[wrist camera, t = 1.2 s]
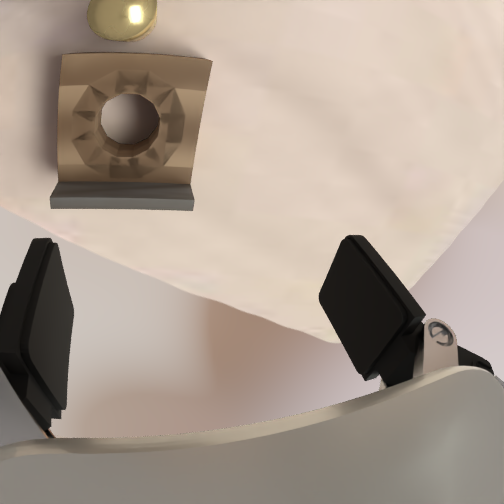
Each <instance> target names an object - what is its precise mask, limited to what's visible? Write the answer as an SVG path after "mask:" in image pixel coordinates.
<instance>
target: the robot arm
mask: <svg viewBox="0 0 504 504" xmlns="http://www.w3.org/2000/svg"><path fill="white" fill-rule="evenodd" d="M319 302H320V304H321V306H322V308H323V309H324V311H325V313H326V315H327V317H328V318H329V320H330V322H331V324H332V326H333V328H334V329H335V331H336V333H337V335H338V337H339V339H340V340H341V342H342V344H343V346H344V348H345V350H346V351H347V353H348V355H349V357H350V359H351V361H352V363H353V365H354V366H355V369H356V370H357V372H358V373H359V374H361V375H362V377H363V378H364V380H365V381H367V380H371V379H374V378H376V377H377V376H378V375H379V374H380V376H381V383H380V388H379V391H377V392H374V393H371V394H368V395H365V396H362V397H359V398H355V399H352V400H349V401H346V402H342V403H339V404H335V405H332V406H328V407H324V408H321V409H317V410H313V411H309V412H305V413H301V414H297V415H293V416H289V417H284V418H279V419H274V420H270V421H264V422H259V423H254V424H248V425H242V426H236V427H230V428H224V429H217V430H210V431H202V432H193V433H184V434H174V435H162V436H161V435H160V436H145V437H144V436H143V437H125V438H56V437H55V436H54V434H53V433H52V432H51V430H50V429H49V428H50V427H51V418H54V419H61V410H65V409H66V405H67V381H68V365H69V354H70V344H71V334H72V326H73V318H74V308H73V304H72V301H71V296H70V293H69V289H68V286H67V281H66V277H65V273H64V269H63V265H62V261H61V256H60V251H59V247H58V244H57V243H53V242H52V239H51V238H35V239H33V240H32V242H31V244H30V247H29V249H28V252H27V255H26V257H25V259H24V262H23V264H22V267H21V270H20V272H19V275H18V278H17V281H16V283H12V284H11V285H10V287H9V290H8V293H7V296H6V298H5V301H4V304H3V307H2V311H1V314H0V504H504V382H503V381H502V380H500V379H499V378H498V377H497V376H495V377H494V372H493V370H492V367H491V365H490V363H489V362H488V361H487V360H485V359H483V358H482V357H480V356H478V355H476V354H474V353H472V352H470V351H468V350H466V349H464V348H462V347H460V346H458V345H457V339H456V335H455V333H454V332H453V330H452V329H451V328H450V327H449V326H448V325H447V324H446V323H445V322H443V321H441V320H439V319H436V318H431V319H428V320H427V321H426V322H425V324H423V323H422V322H421V321H422V320H423V318H424V317H425V316H426V314H425V313H424V311H423V310H422V308H421V307H420V306H419V304H418V303H417V302H416V301H415V299H414V298H413V297H412V295H411V294H410V293H409V291H408V290H407V289H406V287H405V286H404V285H403V284H402V282H401V281H400V280H399V278H398V277H397V276H396V275H395V273H394V272H393V271H392V270H391V268H390V267H389V266H388V265H387V263H386V262H385V261H384V260H383V259H382V257H381V256H380V255H379V254H378V252H377V251H376V250H375V249H374V248H373V246H372V245H371V244H370V243H369V242H368V241H367V239H366V238H365V237H364V236H362V235H348V236H346V237H345V239H343V240H342V241H341V243H340V246H339V248H338V250H337V253H336V255H335V258H334V260H333V262H332V265H331V267H330V270H329V272H328V274H327V277H326V279H325V281H324V283H323V286H322V288H321V290H320V293H319Z"/></svg>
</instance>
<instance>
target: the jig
mask: <svg viewBox="0 0 504 504" xmlns="http://www.w3.org/2000/svg"><path fill="white" fill-rule="evenodd" d="M212 62H213V61H211V60H207V59H201V58H193V57H185V56H175V55H163V54H149V53H127V52H87V53H70V54H64V55H62V63H61V72H60V83H59V97H58V120H57V159H58V183H57V185H56V187H55V189H54V191H53V192H52V194H51V196H50V206H51V209H147V210H182V211H193V207H194V196H193V193H192V189H191V185H190V183H191V176H192V169H193V163H194V157H195V151H196V145H197V139H198V133H199V128H200V122H201V117H202V111H203V106H204V101H205V96H206V91H207V86H208V81H209V76H210V71H211V67H212ZM120 94H139V95H141V96H142V97H144V98H146V99H147V100H149V101H150V102H152V103H153V104H154V106H155V108H156V110H157V113H158V115H159V120H158V126H157V127H156V128H155V130H154V131H153V132H152V134H151V135H150V136H149V138H147V139H145V140H143V141H141V142H139V143H137V144H119V143H117V142H116V141H114V140H112V139H111V138H109V137H107V135H106V133H105V131H104V129H103V127H102V125H101V112H102V107H103V106H104V104H105V103H106V102H107V101H108V100H110V99H112V98H114V97H116V96H118V95H120Z"/></svg>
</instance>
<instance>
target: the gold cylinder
mask: <svg viewBox="0 0 504 504" xmlns="http://www.w3.org/2000/svg"><path fill="white" fill-rule="evenodd" d="M87 19H88V23H89V26H90V28H91V29H92V30H93V32H94V33H95V34H97V35H98V36H100V37H102V38H104V39H108V40H115V41H125V42H134V41H139V40H141V39H143V38H145V37H146V36H148V35H149V34H150V33H151V32H152V30H153V29H154V27H155V25H156V20H157V0H91V1H90V4H89V6H88V11H87Z"/></svg>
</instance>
